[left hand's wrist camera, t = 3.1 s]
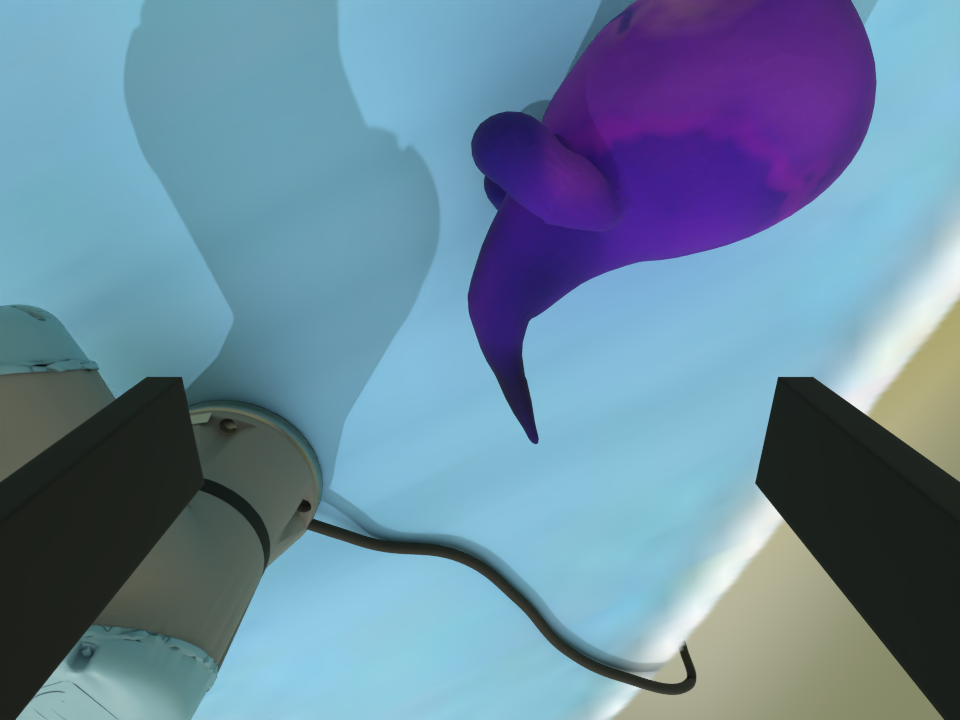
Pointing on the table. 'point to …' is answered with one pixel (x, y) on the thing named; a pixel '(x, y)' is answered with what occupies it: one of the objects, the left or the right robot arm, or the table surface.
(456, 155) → the table surface
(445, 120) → the table surface
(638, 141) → the toy
